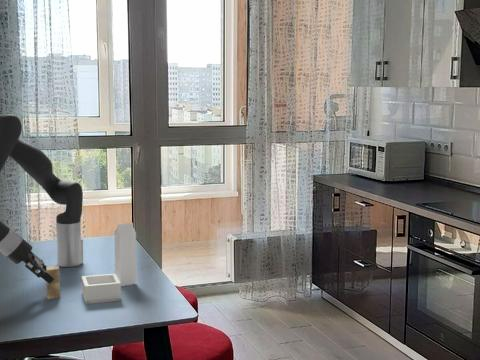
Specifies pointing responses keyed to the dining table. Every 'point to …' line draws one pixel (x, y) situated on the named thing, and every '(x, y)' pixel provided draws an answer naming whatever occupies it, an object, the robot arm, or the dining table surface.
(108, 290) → the white well
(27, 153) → the robot arm
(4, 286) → the dining table surface
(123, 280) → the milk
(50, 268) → the beech post
